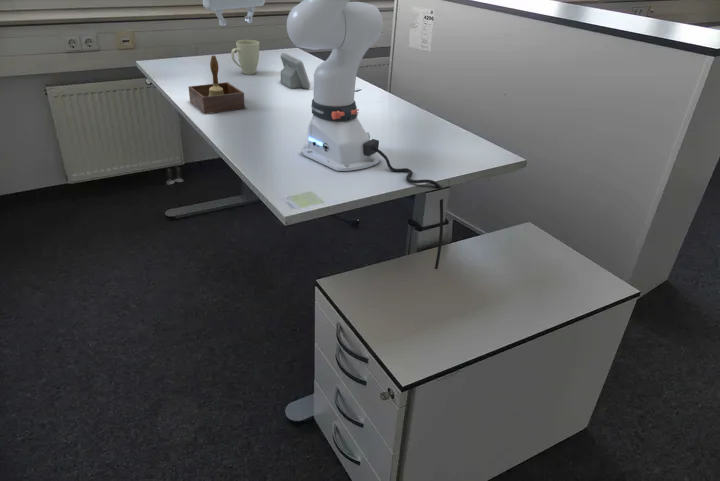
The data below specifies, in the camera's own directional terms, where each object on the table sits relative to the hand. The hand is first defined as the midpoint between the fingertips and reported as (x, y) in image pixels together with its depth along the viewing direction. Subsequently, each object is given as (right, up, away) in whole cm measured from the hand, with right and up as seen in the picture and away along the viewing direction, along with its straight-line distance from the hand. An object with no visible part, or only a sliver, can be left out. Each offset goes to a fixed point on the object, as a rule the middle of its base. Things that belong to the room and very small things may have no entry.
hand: (236, 24), depth 168 cm
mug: (-8, +2, +57) cm, 58 cm away
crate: (-11, -20, +20) cm, 30 cm away
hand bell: (-11, -20, +20) cm, 30 cm away
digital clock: (+13, -6, +47) cm, 48 cm away
